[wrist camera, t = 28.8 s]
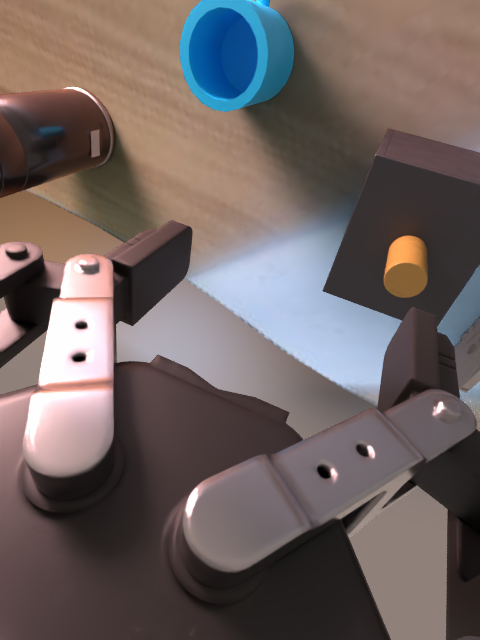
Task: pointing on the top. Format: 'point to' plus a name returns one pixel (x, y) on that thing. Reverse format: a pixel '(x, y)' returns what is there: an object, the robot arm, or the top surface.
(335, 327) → the top surface
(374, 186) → the cover
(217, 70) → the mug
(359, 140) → the top surface
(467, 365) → the cassette
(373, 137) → the top surface
